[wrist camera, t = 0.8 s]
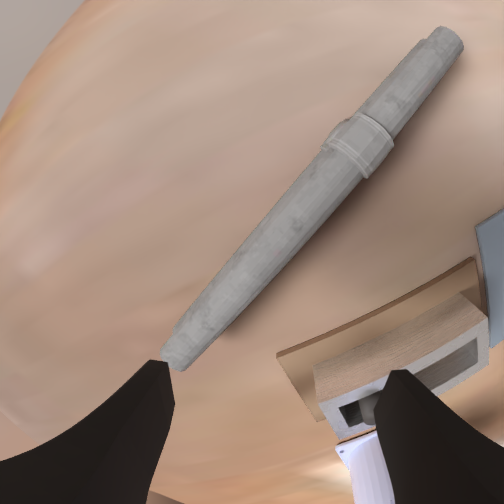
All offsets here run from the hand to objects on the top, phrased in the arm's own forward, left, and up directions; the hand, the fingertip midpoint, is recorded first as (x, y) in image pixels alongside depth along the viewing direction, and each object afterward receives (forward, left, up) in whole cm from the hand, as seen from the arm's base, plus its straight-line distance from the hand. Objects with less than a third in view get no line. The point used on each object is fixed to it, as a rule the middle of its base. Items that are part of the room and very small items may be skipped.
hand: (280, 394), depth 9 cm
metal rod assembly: (+4, -4, -11) cm, 12 cm away
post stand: (-9, -5, -11) cm, 15 cm away
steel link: (-9, -5, -10) cm, 15 cm away
